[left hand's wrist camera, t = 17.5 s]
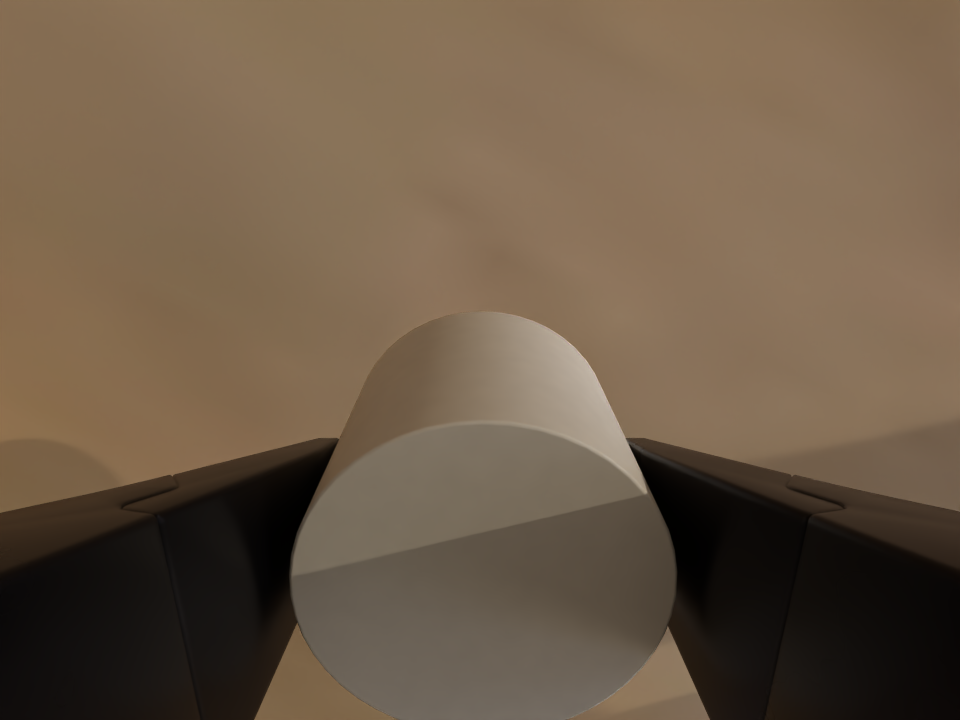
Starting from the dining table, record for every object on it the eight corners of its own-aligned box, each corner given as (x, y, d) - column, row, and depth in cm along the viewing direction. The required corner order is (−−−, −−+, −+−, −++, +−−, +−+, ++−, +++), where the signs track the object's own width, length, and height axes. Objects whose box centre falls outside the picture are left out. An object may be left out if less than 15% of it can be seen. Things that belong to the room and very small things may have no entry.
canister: (331, 329, 12) (241, 450, 7) (598, 293, 11) (672, 395, 7) (383, 549, 13) (335, 752, 9) (615, 521, 13) (683, 718, 9)
